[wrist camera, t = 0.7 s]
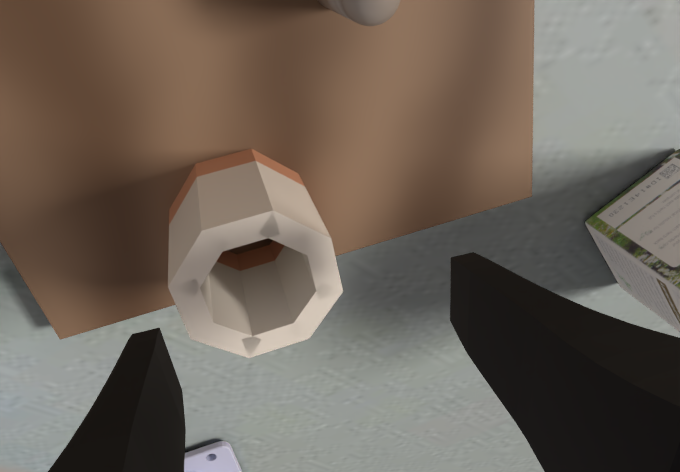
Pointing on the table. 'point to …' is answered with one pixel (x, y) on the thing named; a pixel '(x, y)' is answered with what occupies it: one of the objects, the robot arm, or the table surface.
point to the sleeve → (249, 256)
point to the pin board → (246, 126)
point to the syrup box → (645, 239)
